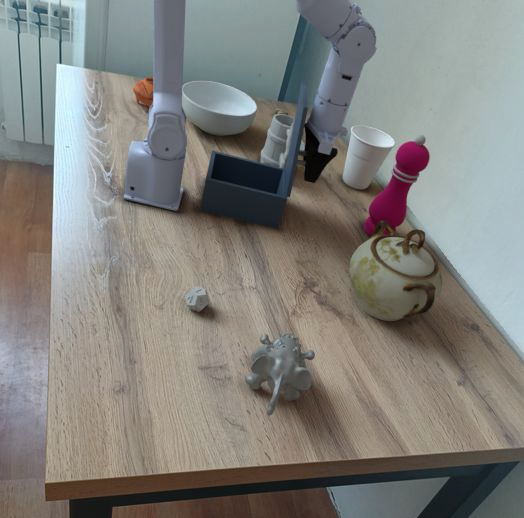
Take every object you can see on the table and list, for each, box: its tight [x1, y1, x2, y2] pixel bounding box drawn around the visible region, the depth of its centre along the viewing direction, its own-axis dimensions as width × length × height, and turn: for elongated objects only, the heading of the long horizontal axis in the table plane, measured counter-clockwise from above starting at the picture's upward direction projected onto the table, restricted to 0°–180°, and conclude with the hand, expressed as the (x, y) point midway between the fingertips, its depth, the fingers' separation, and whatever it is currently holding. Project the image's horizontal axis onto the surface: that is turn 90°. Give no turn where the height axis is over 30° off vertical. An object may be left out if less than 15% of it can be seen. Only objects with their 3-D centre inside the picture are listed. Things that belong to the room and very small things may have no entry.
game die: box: [184, 285, 211, 313], centre depth 77 cm, size 4×4×3 cm
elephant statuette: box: [245, 332, 316, 416], centre depth 67 cm, size 9×12×8 cm
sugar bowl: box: [348, 221, 443, 322], centre depth 85 cm, size 20×15×15 cm
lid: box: [286, 81, 309, 198], centre depth 93 cm, size 15×12×4 cm
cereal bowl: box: [182, 80, 258, 137], centre depth 120 cm, size 17×17×7 cm
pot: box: [132, 76, 153, 109], centre depth 120 cm, size 8×8×7 cm
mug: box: [260, 113, 295, 169], centre depth 112 cm, size 8×12×12 cm, turn 7°
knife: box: [274, 108, 305, 151], centre depth 129 cm, size 27×2×5 cm
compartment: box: [199, 149, 288, 230], centre depth 100 cm, size 15×12×6 cm
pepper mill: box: [363, 134, 431, 237], centre depth 101 cm, size 7×7×20 cm
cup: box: [341, 124, 396, 190], centre depth 117 cm, size 10×10×11 cm
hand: (308, 174), depth 97 cm, fingers closed on lid, 5 cm apart
